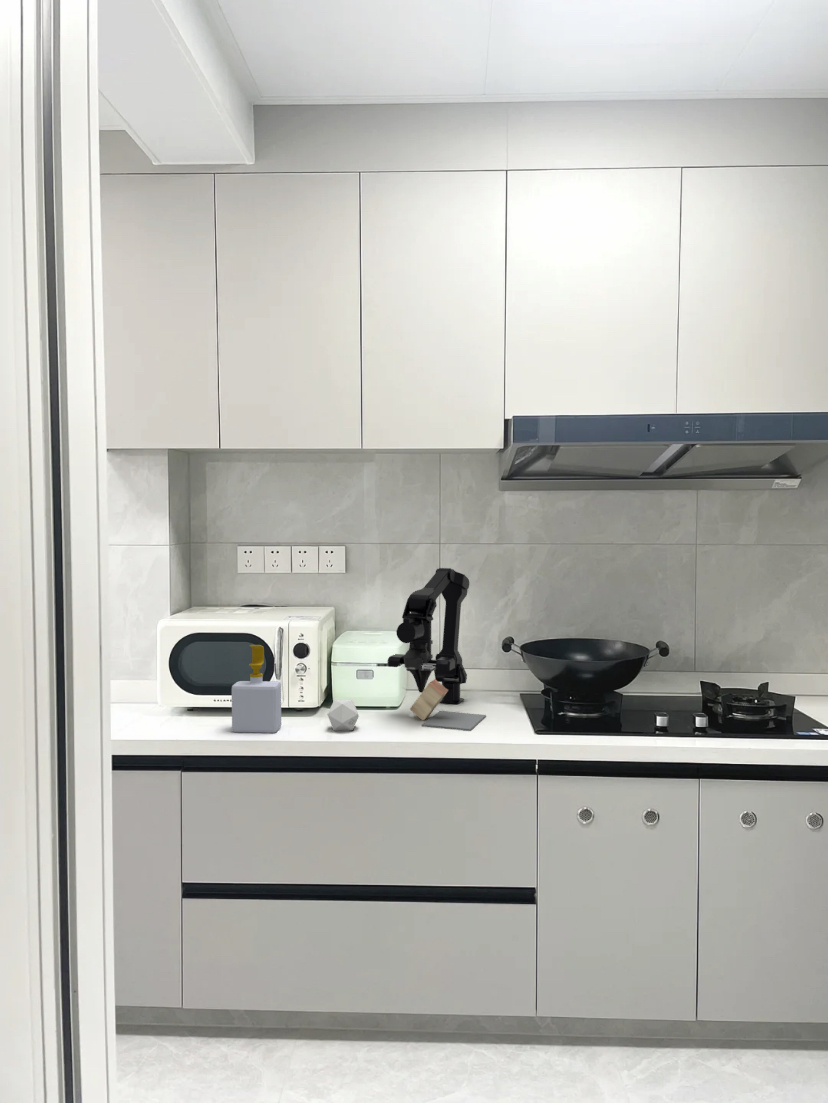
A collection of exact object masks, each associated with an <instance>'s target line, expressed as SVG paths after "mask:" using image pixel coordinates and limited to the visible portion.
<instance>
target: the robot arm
mask: <svg viewBox="0 0 828 1105" xmlns="http://www.w3.org/2000/svg"><path fill="white" fill-rule="evenodd" d="M469 579H470V578H469V577H467V575H465V574H463V573H460V572H458V571H456V570H455V569H453V568H452V567H449V568H448V567H439V568H436V569H435V572H434V575H432V577H431V578H430V579H429V580H428V582H427V583H426V584H425V585H424V587H423V588H420V589H417V590H414V591H413V592H412V593H411V594H410V595H409V597H408V598H407V600H406V602H405V606H404V610H403V614H402V616H401V618H402V623H400V624H399V625H398V626H397V629H396V636H397V638H398V640H399V641H400V642H401V643H404V644H409V646H408V650H407V651H406V653H405V654H404V653H403V654H401V653H394V654H395V655H394V654H392V655H390V656H389V657H388V659H387V667H389V668H391V667H392V668H398V667H399V666H401V665H404V668H406V671H408V672H409V673H411V675H412V677H413V678H414V680H415V684H416V687H417V689H418V692H419V693H422V692H423V691H424V689H425V688H426V687H427V684H428V680H429V679H430V678H429V677H430V676H431V674H432V672H434V679H435V680H437V681H438V682H439V683H441V685H443V686H444V687H445V688H446V689H447V690H448V692H447V693H446V694H445V696H444V697H443V698H442V700H441V701H440V702H439V704H440V703H441V704H451V705H452V704H453V705H459V704H460V703H461V702H463V701H464V699H465V698H464V697H461V685H462V684H466V683H467V679H468V673H467V672H466V669H465V668H464V665H463V657H462V655H461V654H460V652H459V635H460V622H461V611H462V610H461V609H462V603H463V601H464V600H465V598H466V597H467V595H468V591H469V590H468V589H469V588H470V580H469ZM441 595H442V597H443V599H444V601H445V608H444V619H443V620H444V621H443V622H444V623H443V638H442V648H441V650H440V651H439V653H436V655H435V659H433V657H434V656H433V654H432V645H433V642H434V641H433V640H432V621H433V620H434V617H433V615H434V612H435V610H436V608H437V599H439V598H438V597H439V596H441Z"/></svg>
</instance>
